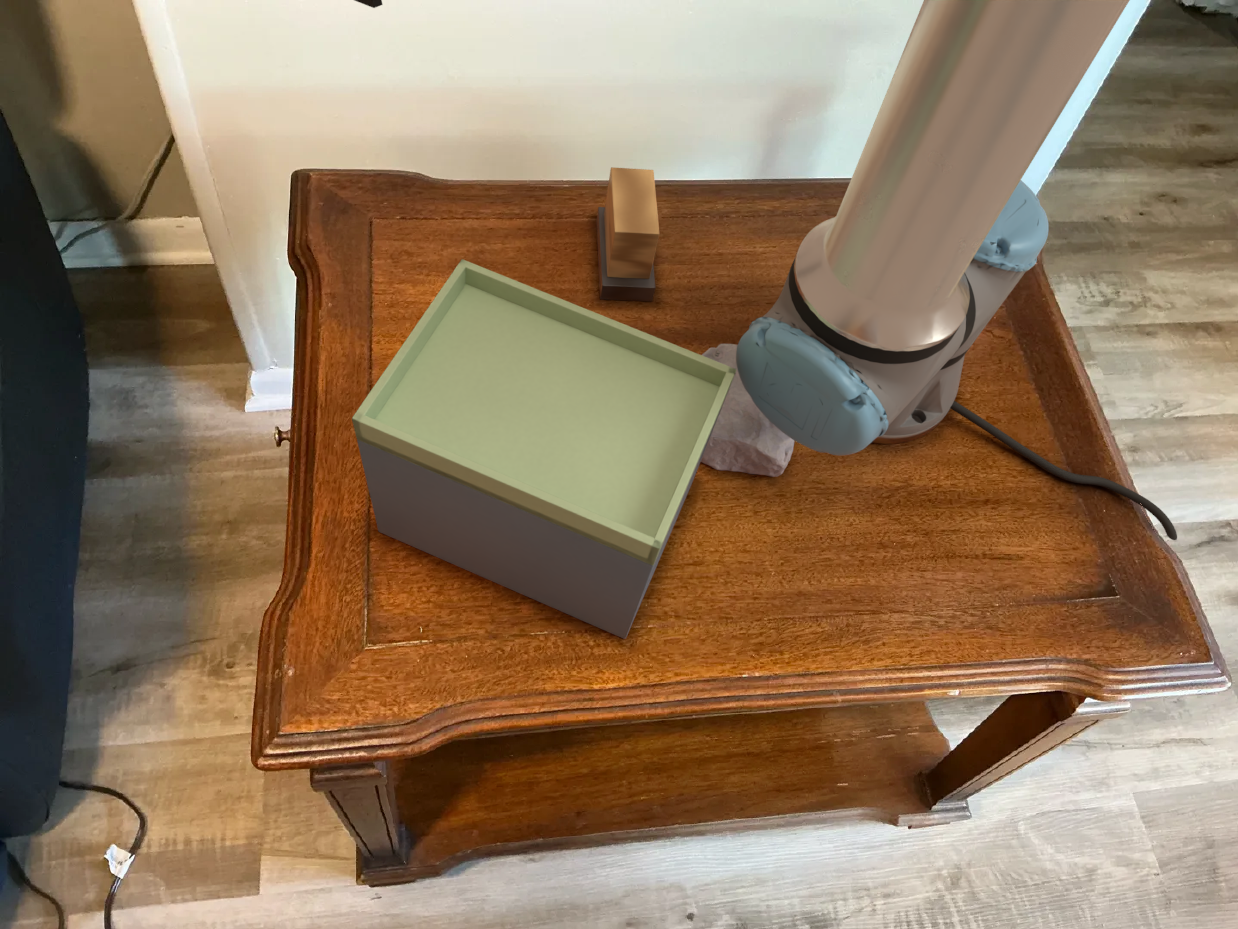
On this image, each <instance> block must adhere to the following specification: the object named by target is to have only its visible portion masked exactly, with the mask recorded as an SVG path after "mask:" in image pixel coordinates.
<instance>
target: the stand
mask: <svg viewBox="0 0 1238 929" xmlns="http://www.w3.org/2000/svg"><path fill="white" fill-rule="evenodd" d="M726 396H727V395H726ZM724 401H725V400H724ZM723 403H724V402H723ZM722 406H723V405H722ZM721 409H722V407H721ZM721 409H720V411H721ZM719 414H720V412H719ZM719 414H718V416H719ZM718 416H717V419H718ZM717 419H716V421H717ZM716 421H715V423H714V426H715V424H716ZM714 426H713V428H712V430H711V433H710V435H709V437H708V440H707V442H706V444H705V447H704V449H703V451H702V454H701V456H700V458H699V461H698V463H697V465H696V468H695V470H694V472H693V475H692V477H691V479H690V482H689V484H688V486H687V489H686V491H685V493H684V496H683V498H682V500H681V503H680V505H679V507H678V510H677V512H676V514H675V517H674V519H673V521H672V524H671V526H670V528H669V531H668V533H667V535H666V538H665V540H664V542H663V545H662V547H661V549H660V552H659V554H658V556H657V559H656V561H655V563H654V565H653V566H652V565H650V564H648V563H645V562H643V561H641V560H638V559H636V558H634V557H631V556H629V555H627V554H624V553H622V552H620V551H617V550H615V549H613V548H610V547H608V546H606V545H603V544H601V543H598V542H596V541H594V540H591V539H589V538H587V537H584V536H582V535H580V534H577V533H575V532H573V531H570V530H568V529H566V528H563V527H561V526H559V525H556V524H554V523H552V522H549V521H547V520H545V519H542V518H540V517H538V516H535V515H533V514H531V513H528V512H526V511H524V510H521V509H519V508H517V507H514V506H512V505H510V504H507V503H505V502H502V501H500V500H498V499H495V498H493V497H491V496H488V495H486V494H484V493H481V492H479V491H477V490H474V489H472V488H470V487H467V486H465V485H463V484H460V483H458V482H456V481H453V480H451V479H449V478H446V477H444V476H442V475H439V474H437V473H435V472H432V471H430V470H428V469H425V468H423V467H421V466H418V465H416V464H414V463H411V462H409V461H406V460H404V459H402V458H399V457H397V456H395V455H392V454H390V453H388V452H385V451H383V450H381V449H378V448H376V447H374V446H371V445H369V444H367V443H364V442H362V441H360V440H357V439H356V442H357V447H358V450H359V455H360V459H361V464H362V468H363V472H364V476H365V481H366V484H367V489H368V494H369V498H370V502H371V506H372V510H373V515H374V519H375V524H376V527H377V531H378V532H379V533H381V534H382V535H386V536H388V537H390V538H392V539H394V540H397V541H399V542H401V543H403V544H406V545H407V546H411V547H413V548H415V549H417V550H420V551H421V552H424V553H426V554H429V555H430V556H433V557H436V558H438V559H440V560H442V561H445V562H447V563H449V564H452V565H453V566H456V567H458V568H461V569H463V570H466V571H467V572H470V573H472V574H474V575H477V576H479V577H481V578H483V579H486V580H489V581H490V582H493V583H494V584H498V585H500V586H502V587H505V588H507V589H509V590H512V591H513V592H515V593H518V594H519V595H523V596H524V597H527V598H530V599H531V600H534V601H537V602H539V603H541V604H543V605H546V606H548V607H549V608H552V609H555V610H557V611H559V612H561V613H564V614H567V615H568V616H571V617H573V618H575V619H577V620H580V621H583V622H585V623H587V624H589V625H592V626H593V627H596V628H598V629H600V630H603V631H605V632H608V633H610V634H611V635H614V636H617V637H619V638H621V639H622V640H623V639H624V640H626V639H627V637H628V634H629V632H630V630H631V627H632V625H633V623H634V620H635V618H636V616H637V613H638V611H639V609H640V606H641V604H642V603H643V599H644V597H645V595H646V593H647V590H648V588H649V586H650V583H651V581H652V578H653V576H654V574H655V571H656V569H657V567H658V564H659V562H660V560H661V558H662V555H663V552H664V550H665V548H666V545H667V543H668V541H669V539H670V536H671V534H672V532H673V530H674V528H675V525H676V522H677V520H678V517H679V515H680V513H681V511H682V508H683V506H684V503H685V501H686V499H687V496H688V494H689V492H690V489H691V488H692V485H693V482H694V480H695V477H696V476H697V475H696V474H697V472H698V469H699V467H700V464H701V463H702V462H701V459H702V457H703V454H704V452H705V449H706V447H707V444H708V442H709V439H710V436H711V434H712V431H713V429H714Z"/></svg>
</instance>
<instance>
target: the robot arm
mask: <svg viewBox="0 0 1238 929" xmlns="http://www.w3.org/2000/svg"><path fill="white" fill-rule="evenodd" d="M1130 1H1131V0H923V2H922V4H921V6H920V9H919V12H918V14H917V16H916V18H915V21H914V24H913V26H912V28H911V31H910V34H909V36H908V39H907V41H906V43H905V46H904V48H903V50H902V53H901V56H900V57H899V61H898V63H897V66H896V67H895V71H894V73H893V75H892V78H891V80H890V83H889V85H888V87H887V90H886V93H885V95H884V98H883V100H882V102H881V105H880V107H879V110H878V112H877V115H876V117H875V119H874V122H873V124H872V127H871V130H870V132H869V135H868V137H867V139H866V142H865V144H864V146H863V149H862V151H861V154H860V156H859V159H858V162H857V164H856V167H855V168H854V171H853V173H852V176H851V178H850V181H849V184H848V186H847V189H846V191H845V194H844V196H843V198H842V201H841V203H840V205H839V208H838V211H837V213H836V216H835V217H831V218H829V219H827V220H824V221H822V222H820V223H819V224H817V225H816V226H814V227H813V228H811V230H810V231H809V232H808V233H807V234H806V235H805V237H804V238H803V239H802V241H801V242H800V245H799V247H798V248H797V251H796V253H795V256H794V257H793V261H792V263H791V266H790V268H789V270H788V274H787V277H786V279H785V282H784V284H783V287H782V290H781V292H780V294H779V296H778V298H777V299H776V301H775V303H774V304H773V305H772V306H771V308H770V309H768V311H767V312H766V313H765V314H764V315H762V316H760V317H757V318H755V320H753V321H751V323H750V324H749V326H748V329H747V330H746V332H744V333H743V334H742V336H741V337H740V339H739V341H738V343H737V345H738V346H737V351H736V364H737V369H738V373H739V376H740V379H741V381H742V383H743V386H744V388H745V390H746V391H747V392H748V393H749V395H750V396H751V398H752V401H753V402H754V403H755V405H756V406H757V407H758V409H759V410H760V411H761V412H762V413H763V415H764V416H765V417H766V418H767V419H768V420H769V421H770V422H771V423H772V424H773V425H775V426H776V427H777V428H778V429H779V430H780V431H782V432H783V433H784V434H786V435H787V436H789V437H790V438H791V439H793V440H795V441H794V442H796V443H798V444H799V445H802V446H804V447H806V448H807V449H810V450H813V451H815V452H818V453H827V454H829V455H833V456H837V457H839V456H851V455H854V454H856V453H860V452H861V451H863V450H865V449H866V448H867V447H868V446H869V445H871V444H873V443H874V444H884V445H888V444H889V445H893V444H895V445H896V444H903V443H908V442H911V441H915V440H918V439H920V438H922V437H924V436H926V435H928V434H929V433H931V432H932V431H933V430H934V429H935V428H937V427H938V426H939V425H940V423H941V422H942V421H943V420H944V418H945V417H946V416H947V414H948V413H949V412H950V410H952V411H954V412H955V413H956V414H958V415H960V416H961V417H963V418H965V419H966V420H968V421H969V422H971V423H972V424H974V425H976V426H977V427H979V428H980V429H982V430H983V431H985V432H986V433H988V434H989V435H991V436H993V438H995V439H997V440H999V441H1000V442H1002V443H1003V444H1004V445H1006V446H1007V447H1008V448H1011V449H1012V450H1013V451H1014V452H1016V453H1018V454H1020V455H1021V456H1022V457H1024V458H1026V459H1028V460H1029V461H1030V462H1032V463H1033V464H1035V465H1037V466H1038V467H1039V468H1041V469H1043V470H1044V471H1046V472H1048V473H1050V474H1052V475H1054V476H1055V477H1058V478H1059V479H1062V480H1065V481H1067V482H1070V483H1071V482H1072V483H1075V484H1081V485H1091V486H1099V487H1102V488H1105V489H1108V490H1110V491H1112V492H1114V493H1116V494H1118V495H1120V496H1122V497H1124V498H1127V499H1128V500H1130V501H1132V502H1133V503H1135V504H1137V505H1139V506H1141V507H1142V506H1143V507H1142V508H1143V509H1145V510H1146V511H1148V512H1149V513H1150V514H1151V515H1152V516H1153V517H1155V518H1156V520H1157V521H1158V522H1159V523H1160V524H1161V526H1162V528H1163V530H1164V531H1165V534H1166V537H1168V538H1169V539H1170V540H1172V541H1177V539H1178V534H1177V530H1176V528H1175V526H1174V524H1173V523H1172V520H1170V518H1169V517H1168V515H1167V514H1166V513H1165V512H1164V511H1163V510H1162V509H1161V508H1160V507H1158V506H1157V505H1156V504H1155V503H1154V502H1152V501H1151V500H1149V499H1147V498H1146V497H1145V496H1143V495H1141V494H1139V493H1138V492H1135V491H1134V490H1132V489H1129V488H1127V487H1126V486H1124V485H1122V484H1119V483H1117V482H1116V481H1113V480H1111V479H1108V478H1105V477H1101V476H1096V475H1087V474H1086V475H1085V474H1079V473H1074V472H1070V471H1067V470H1065V469H1063V468H1061V467H1058V466H1057V465H1055V464H1053V463H1052V462H1049V461H1048V460H1047V459H1045V458H1044V457H1042V456H1040V455H1039V454H1037V453H1036V452H1034V451H1033V450H1031V449H1030V448H1028V447H1026V446H1025V445H1023V444H1021V442H1019V441H1017V440H1015V439H1014V438H1012V437H1011V436H1010V435H1008V434H1007V433H1005V432H1004V431H1002V430H1001V429H999V428H997V427H996V426H995V425H993V424H991V423H990V422H989V421H987V420H986V419H984V418H983V417H981V416H979V415H978V414H976V413H975V412H973V411H971V410H970V409H968V408H967V407H965V406H964V405H962V404H960V403H959V402H957V401H956V398H957V395H958V392H959V387H960V381H961V376H962V371H963V367H964V362H965V357H966V354H967V352H968V351H969V349H970V348H971V347H972V346H973V344H974V343H975V341H976V340H977V339H978V337H979V336H980V335H981V334H982V332H983V330H985V328H986V327H987V325H988V324H989V322H990V321H991V320H992V318H993V317H994V316H995V314H996V313H997V312H998V310H999V308H1000V307H1001V306H1002V305H1003V304H1004V302H1005V301H1006V300H1007V298H1008V297H1009V295H1010V294H1011V293H1012V291H1013V290H1014V288H1015V287H1016V285H1017V284H1018V283H1019V282H1020V280H1021V279H1022V277H1023V276H1024V274H1026V272H1028V271H1030V269H1032V268H1033V267H1034V266H1035V265H1036V263H1037V261H1038V256H1039V255H1040V252H1041V251H1042V249H1043V248H1044V246H1045V245H1046V243H1047V239H1048V236H1049V228H1050V227H1049V226H1050V224H1049V219H1048V216H1047V213H1046V210H1045V209H1044V207H1042V205H1041V202H1040V199H1039V198H1038V196H1037V195H1036V193H1035V192H1034V191H1033V190H1032V188H1030V187H1029V186H1028V185H1027V184H1026V183H1025V182H1024V181H1023V180H1022V178H1023V177H1024V175H1025V174H1026V171H1027V170H1028V169H1029V167H1030V165H1031V164H1032V162H1033V160H1034V158H1035V157H1036V155H1037V154H1038V152H1039V151H1040V149H1041V147H1042V146H1043V144H1044V142H1045V140H1046V139H1047V137H1048V136H1049V134H1050V132H1051V131H1052V129H1053V127H1054V126H1055V124H1056V122H1057V121H1058V119H1059V118H1060V116H1061V114H1062V112H1063V111H1064V109H1065V108H1066V106H1067V105H1068V103H1069V101H1070V99H1071V98H1072V96H1073V94H1074V93H1075V91H1076V89H1077V88H1078V86H1079V85H1080V83H1081V81H1082V80H1083V78H1084V76H1085V75H1086V73H1087V72H1088V70H1089V68H1090V67H1091V65H1092V63H1093V62H1094V60H1095V58H1096V56H1097V55H1098V53H1099V51H1100V50H1101V49H1102V46H1103V45H1104V44H1105V42H1106V39H1108V37H1109V36H1110V33H1111V32H1112V30H1113V28H1114V27H1115V25H1116V23H1117V22H1118V20H1119V19H1120V17H1121V16H1122V13H1123V12H1124V11H1125V9H1126V7H1127V5H1128V4H1129V2H1130ZM354 2H357V3H359V4H362V5H364V6H367V7H369V8H372V9H376V8H378V7H380V6H383V0H354ZM1140 503H1141V504H1142V505H1141V504H1140Z"/></svg>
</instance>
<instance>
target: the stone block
mask: <svg viewBox="0 0 1238 929" xmlns="http://www.w3.org/2000/svg"><path fill="white" fill-rule="evenodd" d="M737 346H738V344H734V343H719V344H718V345H717V346H716V347H709V348H707V350H705V351H704V352H703V353H702V354H701V355H702V356H704V357H707V358H709V359H712V360H714V361H717V362H719V363H722V364H724V365H727V366H729V367H732V368H734V369H736V373H735V375H734V378H733V381H732V383H731V386H730V388H729V391H728V393H727V396H726V398H725V401H724V403H723V406H722V409H721V411H720V414H719V416H718V419H717V421H716V424H715V426H714V429H713V431H712V434H711V436H710V439H709V442H708V444H707V447H706V449H705V452H704V454H703V457H702V459H701V462H700V463H702V464H705V465H707V466H709V467H711V468H712V469H714V470H716V471H729V472H739V473H746V474H748V475H761V476H768V477H773V478H777V477H779V476H781V475H782V474H784V471H785V470H786V468H787V467H788V464H789V462H790V461H791V458H792V455H793V452H794V447H795V442H796V441H795V440H793V439H791V438H790V437H789V436H787V435H786V434H784V433H783V432H782V431H780V430H779V429H778V428H777V427H776V426H775V425H773V424H772V423H771V422H770V421H769V420H768V419H767V418H766V417H765V416H764V415H763V413H762V412H761V411H760V410H759V409H758V407H757V406H756V405H755V403H754V402H753V401H752V398H751V396H750V395H749V393H748V392H747V391H746V390H745V388H744V386H743V383H742V381H741V379H740V376H739V373H738V369H737V364H736V351H737Z"/></svg>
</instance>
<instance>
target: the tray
mask: <svg viewBox="0 0 1238 929" xmlns="http://www.w3.org/2000/svg"><path fill="white" fill-rule="evenodd" d="M735 373H736V369H734V368H732V367H729V366H727V365H724V364H722V363H719V362H717V361H714V360H712V359H709V358H707V357H704V356H702V354H699V353H697V352H695V351H692V350H689V349H687V348H684V347H682V346H679V345H677V344H674V343H672V342H669V341H667V340H665V339H662V338H660V337H657V336H655V335H652V334H649V333H647V332H645V331H642V330H639V329H637V328H635V327H632V326H631V325H628V324H624V323H622V322H619V321H618V320H615V319H613V318H610V317H607V316H605V315H603V314H600V313H597V312H595V311H592V310H590V309H588V308H585V307H582V306H580V305H578V304H575V303H573V302H570V301H568V300H565V299H562V298H560V297H558V296H555V295H552V294H550V293H548V292H546V291H542V290H540V289H538V288H536V287H532V286H530V285H528V284H525V283H523V282H520V281H518V280H516V279H513V278H511V277H508V276H506V275H503V274H501V273H498V272H495V271H493V270H490V269H488V268H485V267H484V266H480V265H478V264H476V263H473V262H471V261H469V260H465V259H463V258H461V260H459V262H458V264H457V265H456V266H455V268H454V270H453V271H452V272H451V274H450V276H449V277H448V278H447V280H446V281H445V282H444V284H443V286H442V287H441V288H440V290H439V291H438V292H437V293H436V295H435V297H434V299H433V300H432V301H431V303H430V304H429V306H427V308H426V310H425V311H424V313H423V314H422V315H421V317H420V319H419V320H418V321H417V323H416V324H415V326H414V328H412V330H411V331H410V333H409V335H408V336H407V338H406V339H405V340H404V342H403V344H402V345H401V346H400V348H399V349H398V351H397V352H396V353H395V355H394V356H393V358H392V359H391V361H390V362H389V363H388V365H387V366H386V368H385V370H384V371H383V372H382V374H381V375H380V377H379V378H378V380H377V381H376V383H375V384H374V385H373V387H372V388H371V389H370V391H369V393H368V394H367V396H366V397H365V399H364V400H363V401H362V402H361V404H360V406H359V407H358V408H357V410H356V412H355V413H354V414H353V416H352V418H351V421H352V425H353V430H354V433H355V437H356V441H357V440H360V441H362V442H364V443H367V444H369V445H371V446H374V447H376V448H378V449H381V450H383V451H385V452H388V453H390V454H392V455H395V456H397V457H399V458H402V459H404V460H406V461H409V462H411V463H414V464H416V465H418V466H421V467H423V468H425V469H428V470H430V471H432V472H435V473H437V474H439V475H442V476H444V477H446V478H449V479H451V480H453V481H456V482H458V483H460V484H463V485H465V486H467V487H470V488H472V489H474V490H477V491H479V492H481V493H484V494H486V495H488V496H491V497H493V498H495V499H498V500H500V501H502V502H505V503H507V504H510V505H512V506H514V507H517V508H519V509H521V510H524V511H526V512H528V513H531V514H533V515H535V516H538V517H540V518H542V519H545V520H547V521H549V522H552V523H554V524H556V525H559V526H561V527H563V528H566V529H568V530H570V531H573V532H575V533H577V534H580V535H582V536H584V537H587V538H589V539H591V540H594V541H596V542H598V543H601V544H603V545H606V546H608V547H610V548H613V549H615V550H617V551H620V552H622V553H624V554H627V555H629V556H631V557H634V558H636V559H638V560H641V561H643V562H645V563H648V564H650V565H652V566H653V565H654V563H655V561H656V559H657V556H658V554H659V552H660V549H661V547H662V545H663V542H664V540H665V538H666V535H667V533H668V531H669V528H670V526H671V524H672V521H673V519H674V517H675V514H676V512H677V510H678V507H679V505H680V503H681V500H682V498H683V496H684V493H685V491H686V489H687V486H688V484H689V482H690V479H691V477H692V475H693V472H694V470H695V468H696V465H697V463H698V461H699V458H700V456H701V454H702V451H703V449H704V447H705V444H706V442H707V440H708V437H709V435H710V433H711V430H712V428H713V426H714V423H715V421H716V419H717V416H718V414H719V412H720V409H721V407H722V405H723V402H724V400H725V398H726V395H727V393H728V391H729V388H730V386H731V383H732V381H733V378H734V375H735Z"/></svg>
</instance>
